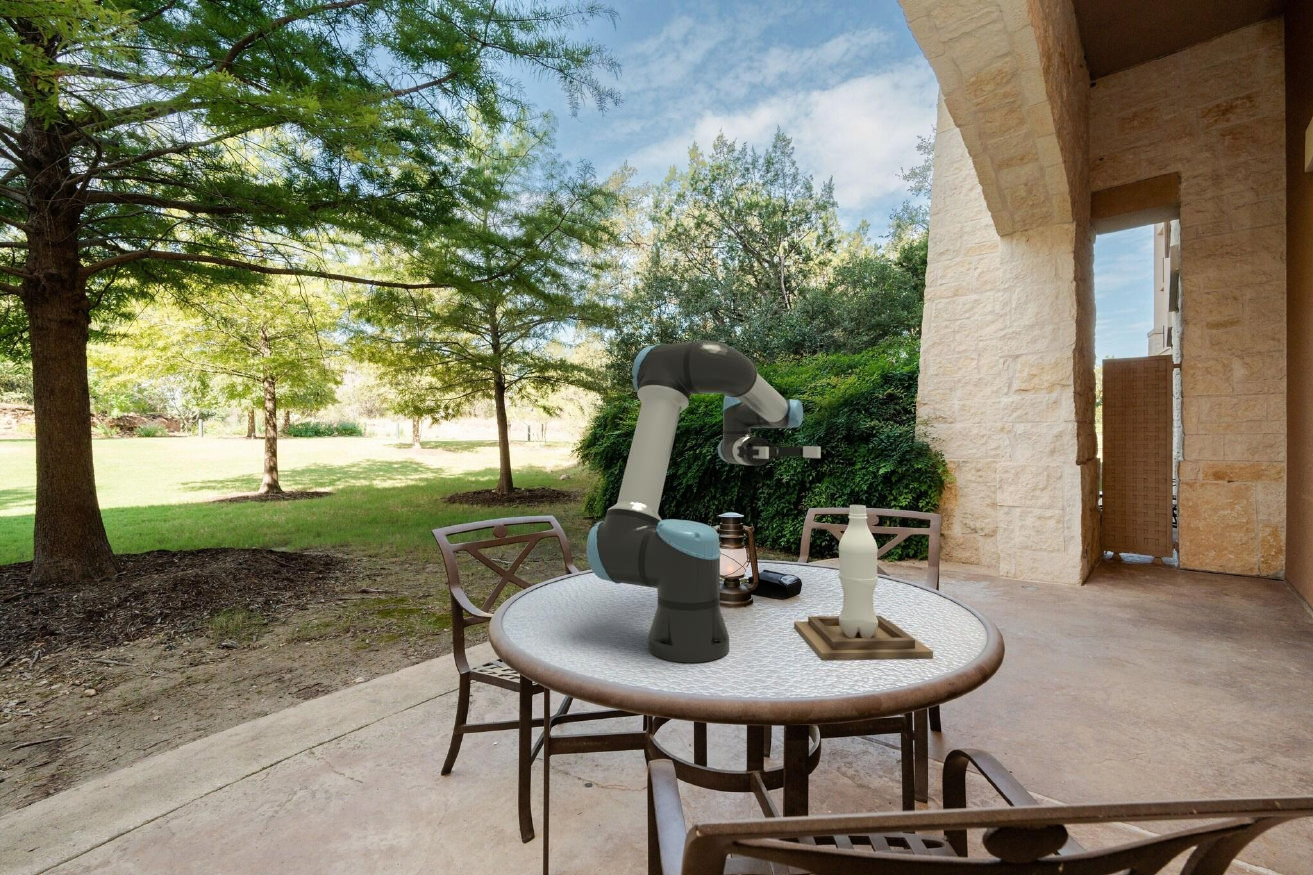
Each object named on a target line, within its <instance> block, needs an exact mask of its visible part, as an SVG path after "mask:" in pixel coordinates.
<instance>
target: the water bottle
mask: <svg viewBox="0 0 1313 875" xmlns="http://www.w3.org/2000/svg"><path fill="white" fill-rule="evenodd" d="M867 515H868V513H867V506H866V505H863V504H850V505H849V513H848V516H847V518H848V519H849V521H848V524H847V525H848V526H846V527H847V528H846V529H845V531H844V533H843V534H842V537H841V538H840V540H839V544H838V556H839V558H838V562H839V563H838V564H839V565H838V566H839V567H838V568H839V569H838V570H839V571H838V572H839V573H838V579H839V580H840V585H841V587H842V592H843V600H842V602H843V603H842V609H841V611H840V614H839V615H838V616H839V625H840V628H841V630H842V632H843V633H845V635H846V636H847V637H849V638H855V636H856V634H857V632H859V633H860V635H861V637H862V638H871V637H872V636H874V634H875V632H876V631H877V628H878V620H877V617H876V616H877V615H876V611H875V608H874V593H875V590H876V586H877V584H878V581H879V576H878V552H879V551H878V544H877V542H876V539H875V537H874V535H873V534H872V532H871V530H870V528H869V526H868V522H867V519H869V517H868V516H867Z"/></svg>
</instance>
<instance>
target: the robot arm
mask: <svg viewBox="0 0 1313 875" xmlns="http://www.w3.org/2000/svg"><path fill="white" fill-rule="evenodd" d="M631 376H633V378H632V384H633V388H634V389H635V391H636V393H637V397H638V399H639V401H640V402H641V406H640V409H639V415H638V418H637V421H636V427H635V430H634V434H633V437H632V441H631V442H632V443H631V447H630V450H629V452H628V453H629V454H628V458H627V462H626V466H625V470H624V474H623V478H622V482H621V486H620V489H619V495H618V498H617V503H616V504H614V505H613V506H611V507H609V508H608V509H607V511H606V515H605V518H604V520H601V521H599V522H596V523H595V524H594V525H593V526H592V527H591V528H590V530H589V533H588V536H587V541H586V558H587V561H588V563H589V567H590V570H591V571H592V572H593V574H594V575H595V576H596V577H597V578H599V579H600V580H603V581H608V582H611V583H614V584H627V585H632V586H639V587H646V588H647V587H648V588H653V589H657V607H656V611H655V613H654V617H653V619H652V624H651V626H650V630H649V633H648V638H647V641H648V642H647V643H648V646H647V647H648V651H649V652H650V653H651V654H652V655H654V656H655V657H658V658H660V659H663V660H665V661H672V662H676V663H677V662H678V663H702V662H710V661H715V660H717V659H720V658H723V657H725V655H727V654H729V651H730V635H729V632H728V630H727V626H726V623H725V620H724V617H723V613H722V610H721V604H720V603H721V602H720V600H721V599H720V593H721V592H720V591H721V590H720V586H721V584H720V582H721V581H720V580H721V577H720V576H721V573H720V572H721V571H720V570H721V567H720V566H721V553H722V552H721V550H720V549H721V547H720V536H719V533H718V532H717V530H716V529H715V528H713V527H712V526H710V525H708V524H705V523H702V522H697V521H692V520H688V519H687V520H685V519H675V518H674V519H673V518H672V519H671V518H670V519H669V518H668V519H662V518H661V516H660V515H659V508H660V505H661V504H660V503H661V499H662V495H663V491H664V490H663V489H664V485H665V481H666V476H667V471H668V469H669V463H670V458H671V454H672V449H673V445H674V440H675V437H676V431H677V428H678V422H679V419H680V413H681V412H683V411H684V410H686V409H687V408H688V407H689V404H690V399H691V396H692V395H704V394H723V395H725V396H724V398H723V405H722V406H723V407H722V408H723V409H722V416H723V417H722V419H723V421H722V422H723V425H722V426H723V429H722V430H723V434H722V440H720V442H719V444H718V446H717V454H718V456H719V458H720V459H721V460H722V461H724V462H725V463H730V464H731V465H733V464H735V465H745V466H755V467H756V466H757V467H758V466H763V465H765V464H766V463H767V462H768V461H769V460H773V459H782V458H784V457H795V458H796V457H798V458H799V457H803V458H809V459H821V457H822V456H821V452H822V451H821V449H822V448H821V446H813V445H811V446H810V444H809V443H805V445H804V446H785V445H783V444H773V443H769V442H768V439H765V438H763V437H761V436H751V429H774V428H775V429H776V428H777V429H789V428H799V427H800V426H801V425H802V423H803V419H804V409H803V404H802V401H800V400H799V399H791V398H790V399H785V397H783V395H782V394H780V393H779V392H778V391H777V390H776V389H775V388H774V387H773V386H771V384H769V382H767V381H766V380H765V378H763V377H762V376H761V375H760V374H759V373H758V370H757V366H756V364H754V362H753V361H752V360H751V359H750V358H749V357H747V356H746V355H745V354H743V353H742V352H741V351H739V350H737V349H735V348H733V347H732V346H729V345H726V344H724V343H721V342H717V341H714V340H707V339H705V340H704V339H703V340H695V341H685V342H678V343H677V342H676V343H657V344H655V345H654V344H653V345H649V346H646V347H644V348H643V349H642V350H640V351H639V352H638V354H637V355H636V358H635V359H634V362H633V364H632V370H631Z"/></svg>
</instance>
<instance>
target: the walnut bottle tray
mask: <svg viewBox="0 0 1313 875" xmlns="http://www.w3.org/2000/svg"><path fill="white" fill-rule="evenodd" d="M839 616H840V615H828V616H827V615H825V616H821V615H820V616H816V615H815V616H811V615H810V616H807V617H808V618H807V621H793V628H794V629H795V631H796V632H797V633H798V634H799V635H800V636H801V637H802V639H803V640H804V641H805V642H806V643H807V644H808V646H809V647H810V648H811V649H812V650H813V651H814V652H815V655H816V656H818V657H819V658H820V659H821V661H834V660H835V661H842V660H843V661H844V660H847V661H848V660H850V661H851V660H901V659H903V660H905V659H907V660H909V659H934V651H933V650H932V649H930V648H929V647H927V646H926V645H924V644H923V643H921V642H920V641H919V640H917V639H916V638H915V637H913V636H911V635H910V634H909V633H908V632H906V631H905V630H903V629H902V628H900V627H898V625H896V624H894V623H893V622H892V621H891V620H887V619H886V618H884V617H883V616H882V615H876V617H877V620H878V628H877V631H876V632H875V634H874V636H872V637H871V638H862V637H861V635H860V633H859V632H857V634H856V636H855V638H849V637H847V636H846V635H845V633H843V632H842V630H841V628H840V625H839Z"/></svg>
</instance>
